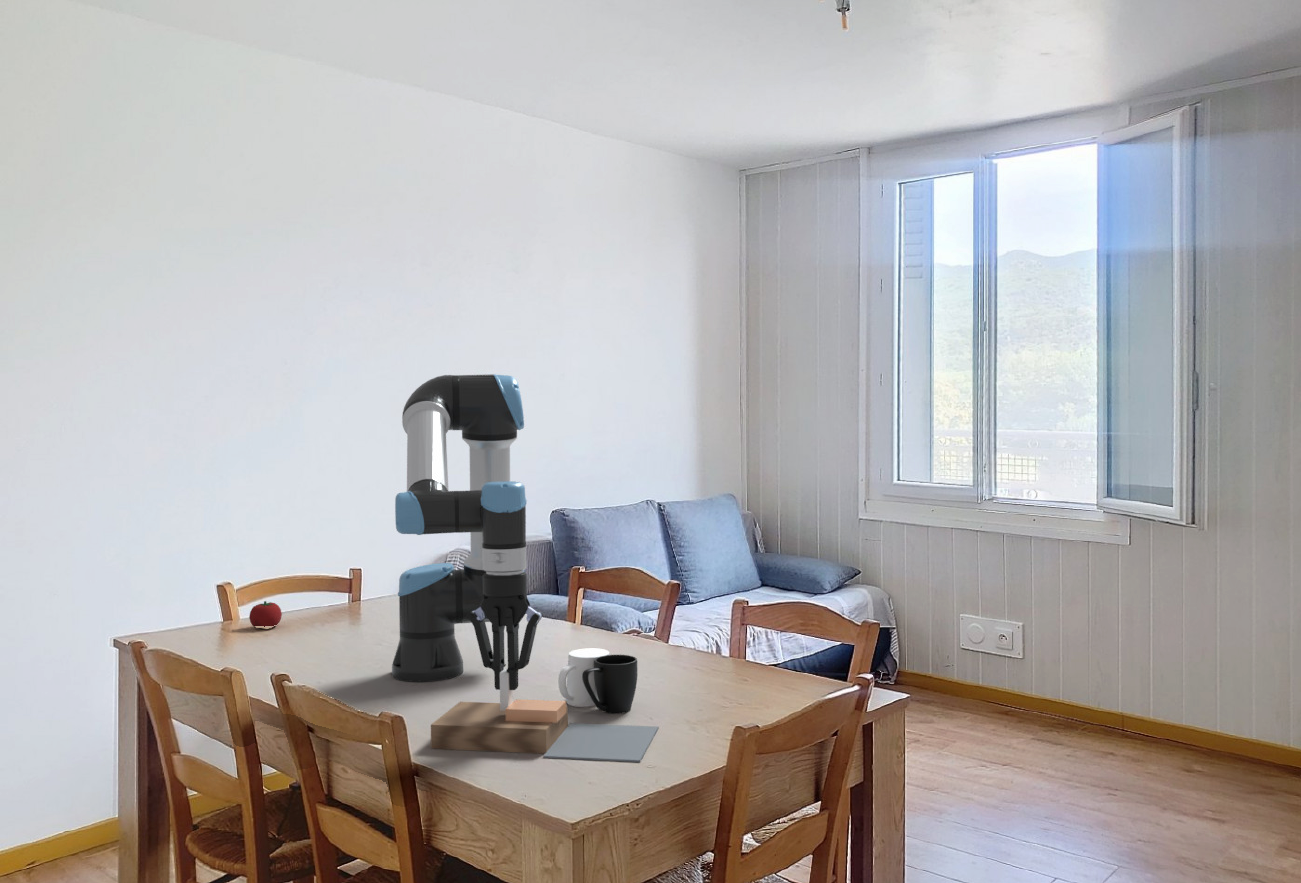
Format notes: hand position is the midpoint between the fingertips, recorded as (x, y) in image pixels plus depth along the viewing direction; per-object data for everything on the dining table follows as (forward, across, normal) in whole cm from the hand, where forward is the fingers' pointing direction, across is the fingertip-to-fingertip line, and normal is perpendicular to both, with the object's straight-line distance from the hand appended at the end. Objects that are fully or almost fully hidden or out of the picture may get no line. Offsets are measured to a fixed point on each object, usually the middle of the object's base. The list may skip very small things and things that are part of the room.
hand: (506, 708), depth 178 cm
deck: (+5, -1, 0) cm, 5 cm away
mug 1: (+6, +8, +24) cm, 26 cm away
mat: (+5, +17, 0) cm, 18 cm away
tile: (+1, +5, 0) cm, 5 cm away
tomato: (+5, -94, +82) cm, 124 cm away
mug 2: (+5, +14, +18) cm, 24 cm away
